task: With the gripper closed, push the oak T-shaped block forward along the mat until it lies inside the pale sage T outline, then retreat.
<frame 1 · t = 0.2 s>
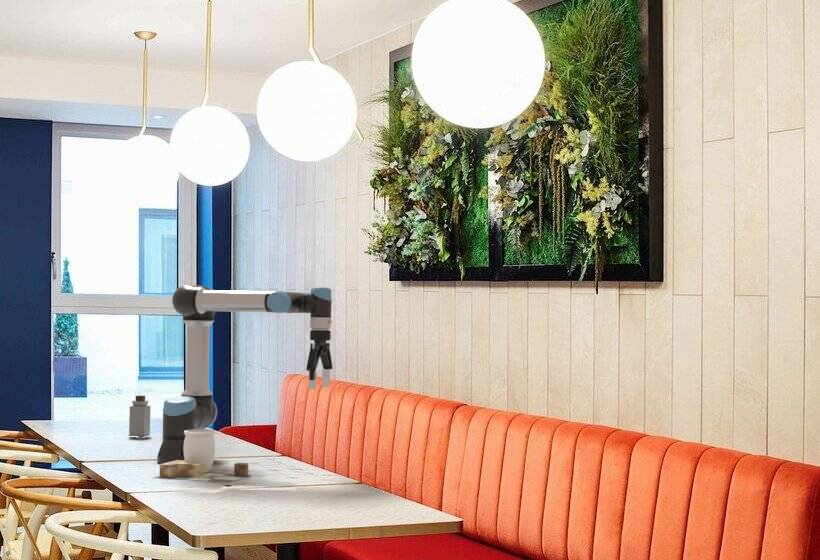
hand: (319, 388, 405), 28 cm above the table, fingers open, 13 cm apart
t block: (184, 475, 365), point 1 cm above the table, touching mat
walnut cube: (241, 475, 367), point 1 cm above the table, touching mat
perfume bottle: (139, 437, 484), on the table
mat: (203, 480, 363), on the table
jar: (198, 475, 377), on the table, touching mat
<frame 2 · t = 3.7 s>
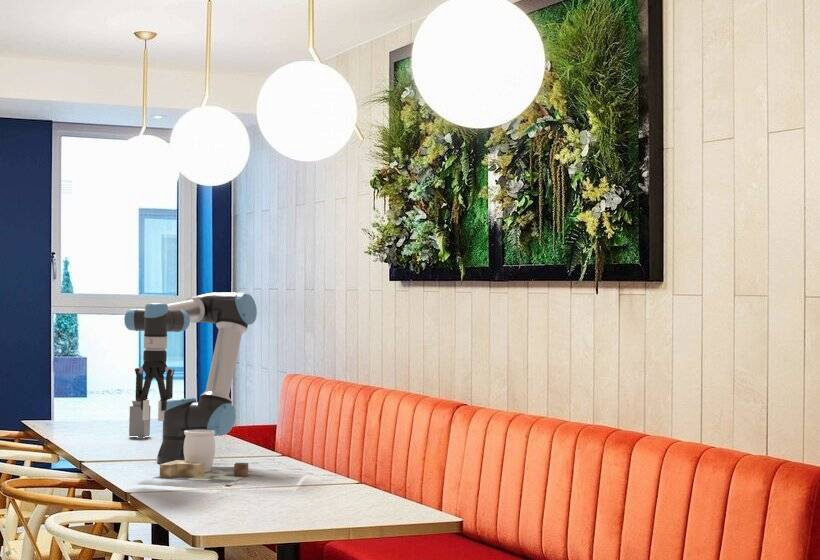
hand: (153, 420, 369), 19 cm above the table, fingers open, 5 cm apart
nothing on the table moved.
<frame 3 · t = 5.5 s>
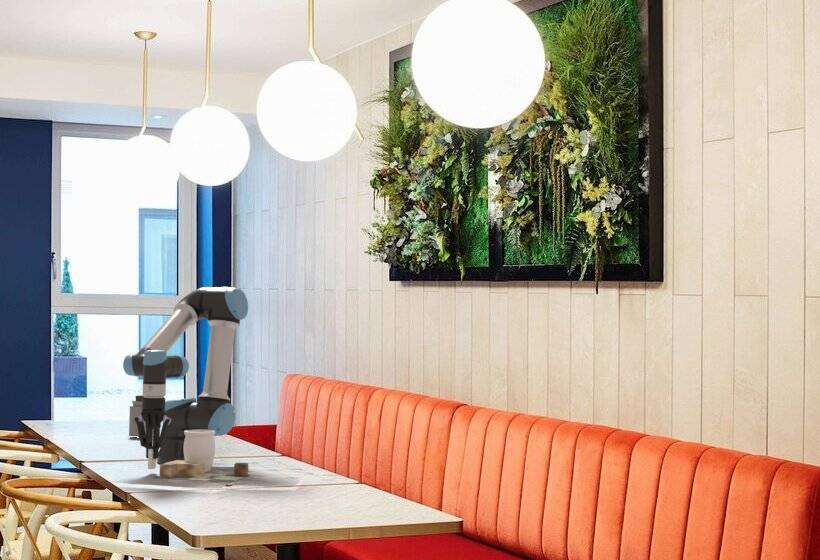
hand: (151, 468, 368), 3 cm above the table, fingers closed
nothing on the table moved.
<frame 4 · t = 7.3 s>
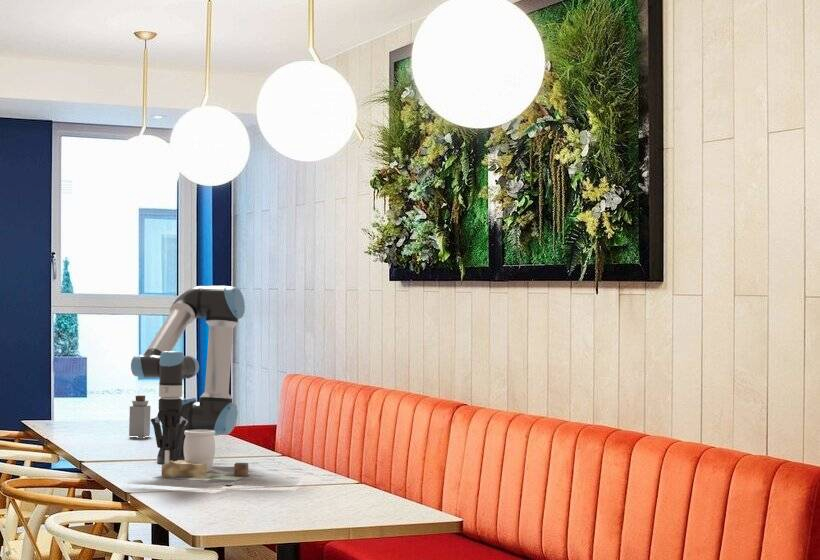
hand: (168, 469, 366), 3 cm above the table, fingers closed
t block: (187, 475, 365), point 1 cm above the table
everything else where it was.
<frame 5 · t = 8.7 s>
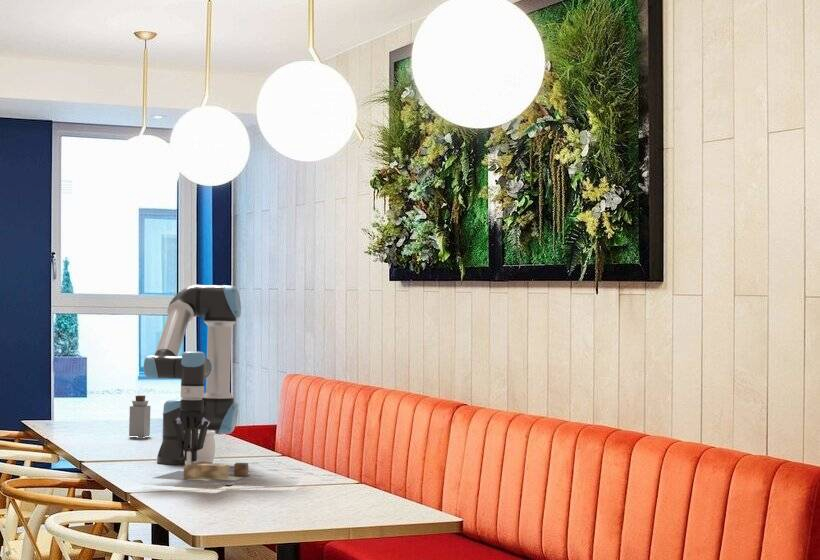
hand: (190, 471, 364), 3 cm above the table, fingers closed
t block: (208, 476, 362), point 1 cm above the table, touching gripper, mat
everything else where it was.
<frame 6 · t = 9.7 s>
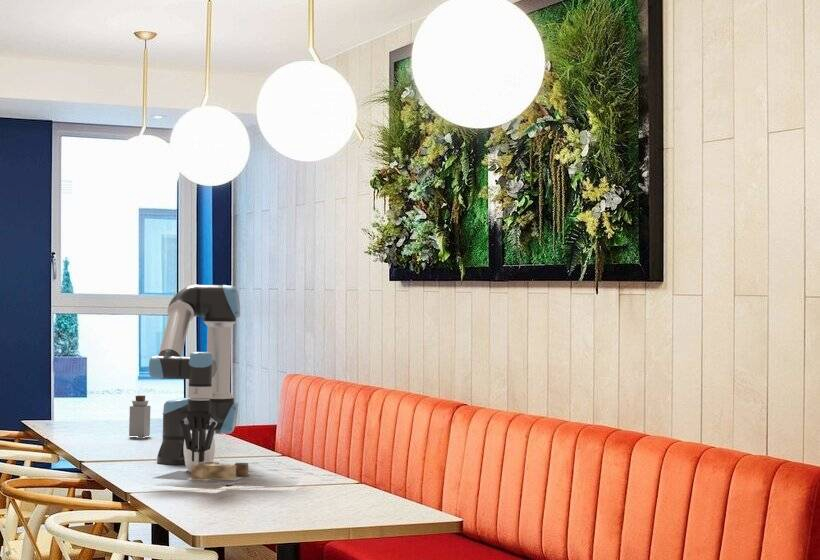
hand: (197, 471, 364), 3 cm above the table, fingers closed
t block: (216, 477, 362), point 1 cm above the table, touching gripper, mat
everything else where it was.
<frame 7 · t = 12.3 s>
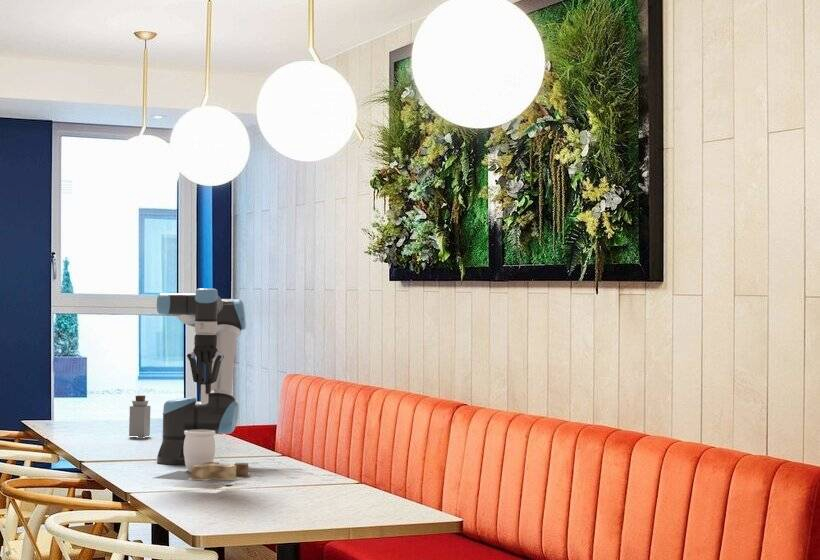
hand: (204, 403, 378), 24 cm above the table, fingers closed
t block: (216, 477, 362), point 1 cm above the table, touching mat
everything else where it was.
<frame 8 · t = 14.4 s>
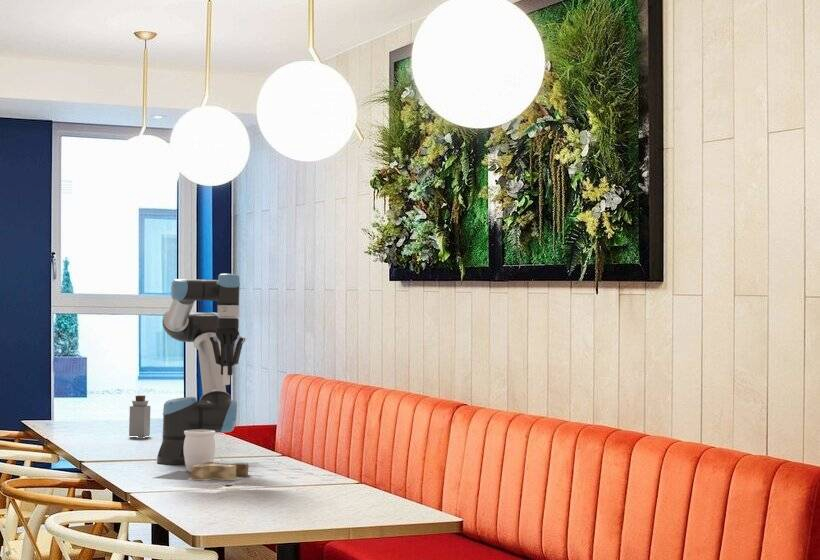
hand: (226, 384, 392), 29 cm above the table, fingers closed
nothing on the table moved.
at the end: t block 0.7 cm from the target spot on the mat, point 1.2 cm above the mat's base; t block tilted 0° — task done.
